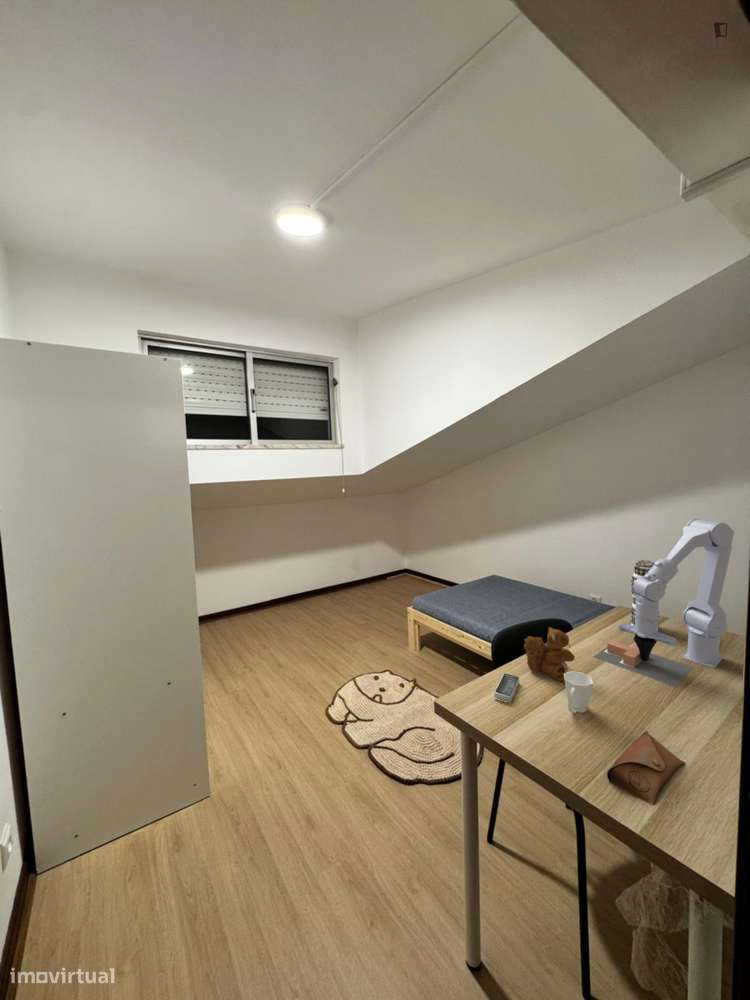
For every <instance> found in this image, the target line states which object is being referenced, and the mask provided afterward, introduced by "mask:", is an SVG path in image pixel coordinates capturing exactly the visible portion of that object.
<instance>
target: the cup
mask: <svg viewBox="0 0 750 1000" xmlns="http://www.w3.org/2000/svg"><path fill="white" fill-rule="evenodd" d="M564 679H565V682H564V683H565V685H564V686H565V693H566V697H567V701H568V703H567V704H568V706H567V707H568V708H567V709H568V711H569V712H571V713H572V714H576V713H581V714H582V713H585V712H588V708H587V707H589V703H590V700H591V696H592V690H593V687H594V681H593V677H592V676H589V675H587V674H585V673H583V672H580V671H575V670H574V671H573V670H569V671H568V672H567V671H566V672H565V673H564Z"/></svg>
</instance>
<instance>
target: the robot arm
mask: <svg viewBox="0 0 750 1000" xmlns="http://www.w3.org/2000/svg"><path fill="white" fill-rule="evenodd" d="M682 533H683V534H682V536H681V537H680V539H679V540H678V541H677V542H676V544H675V545H674V547H673V548H672V549H671V551H670V552H669V553H668V554H667V556H666V557H664V558H659V559H658V560H656V561H655V563H654V565H653V567H652V568H651V569H650V570H649V571H648V572H647V573H646V574H645V576H644V577H641V578H638V579H636V580H635V581H634V583H633V586H631V590H632V591H633V592H634V594H635V598H636V614H635V626H633V625H631V624H627V623H622V622H621V623H620V624H618V631H620V632H626V633H630V634H633V635H634V637H633V641H634V643H635V644H636V645H637V646H638V649H639V652H640V655H641V660H643V661H647V660H649V655H650V653H652V650H653V649H654V647H655V645H656V644H657V642H659V643H663V644H667V645H668V646H669V647H675V646H676V641H677V640H676V639H677V638H676V637H673V636H670V635H667V634H665V633H662V632H660V631H659V626H658V625H659V622H658V621H659V617H658V616H659V614H658V611H659V607H660V606H659V603H660V600H661V599H662V598H663V597H665V593H666V589H667V585H668V584H669V583H670V581H672V580H673V578H674V577H675V576H676V574H677V573H679V568H678V566H679V565H680V563H682V562H683V561H684V560H685V559H686V558H687V557H688V556H690V554H691V553H692V552H693V551H694V550H696V548H700V547H701V548H704V550H706V553H705V557H704V558H705V559H704V563H703V566H702V571H701V577H700V579H699V580H700V581H699V586H698V589H697V595H696V597H695V599H694V600H690V601H688V602H687V606H686V608H685V609H684V610H683V612H682V621H683V623H684V624H685V625H686V629H688V635H687V652H686V653H685V654H684V655H683V656H682V659H685V660H688V661H691V662H693V663H694V662H695V663H697V664H700V665H701V664H702V665H704V666H708V667H711V668H713V669H715V668H717V666H718V665H719V664H720V663H721V661H722V660H723V659H724V658H723V656H721V655H720V642H721V641H720V640H721V639H720V638H721V637H722V636H723V635H725V633H726V631H727V629H728V623H727V613H726V612H725V610H723V609H724V608H722V607H721V606H720V601H721V598H722V592H723V589H724V584H725V580H726V575H727V572H728V571H727V570H728V566H729V563H730V557H731V553H732V545H733V544H732V543H733V540H734V535H735V531H734V530H733V528H732V527H731V526H730V525H729V524H728V523H725V522H717V521H709V520H705V519H701V518H693V519H690V520H689V521H688V522H687V523H686V525H685V526H684V527H682ZM632 591H631V592H632Z"/></svg>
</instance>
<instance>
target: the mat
mask: <svg viewBox="0 0 750 1000" xmlns="http://www.w3.org/2000/svg"><path fill="white" fill-rule="evenodd" d="M622 644H623V643H622ZM623 645H626V646H629V645H627V644H623ZM629 647H631V646H629ZM593 658H595V659H598V660H601V661H603V662H606V663H609V664H611V665H614V666H618V667H619V668H621V669H625V670H627V671H630V672H633V673H636V674H639V675H641V676H644V677H647V678H649V679H652V680H656V681H657V682H660V683H664V684H666V685H669V686H672V687H674V688H677V687H678V686H679V685H680V684H681V682H683V680H685V678H686V677H687V676H688V675H689V674H690V672H692V671H693V670H694V668H695V667H694V666H691V665H688V664H685V663H682V662H679V661H676V660H673V659H669V658H667V657H664V656H661V655H658V654H654V653H652V652H651V653H650V655H649V660H647V661H643V660H642V661H640V662H639V663H638V664H637V665H636V666H635V667H633V666H630V665H627V664H624V663H623V658H622V657H619V656H617V655H614V654H611V653H608V652H607V646H606V647H605V648H603V649H602V650H600V651H599V652H598V653H597V654H595V655H594V656H593Z"/></svg>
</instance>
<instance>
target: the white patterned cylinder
mask: <svg viewBox="0 0 750 1000" xmlns="http://www.w3.org/2000/svg"><path fill="white" fill-rule="evenodd" d="M655 562H656V561H655ZM655 562H654V561H651V560H637V561H636V562H635V563H633V566H634V567H633V568H634V569H633V575H632V576H631V580H630V582H631V586H633V583H634V581H635V580H636V579H638V578H641V577H644V576H645V574H646V573H647V572H648V571H649V570H650V569H651V568H652V567H653V565H654V563H655ZM630 590H631V591H630V592H631V596H632V600H633V601H632V603H631V604H632V605H631V608H630V609H631V611H630V613H631V614H632V615H631V616H630V618H631V620H630V625H633V626H635V614H636V598H635V594H634V592H633V591H632V589H630ZM659 614H660V612H659V610H658V618H660V615H659ZM658 623H659V620H658ZM658 627H659V624H658Z"/></svg>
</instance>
